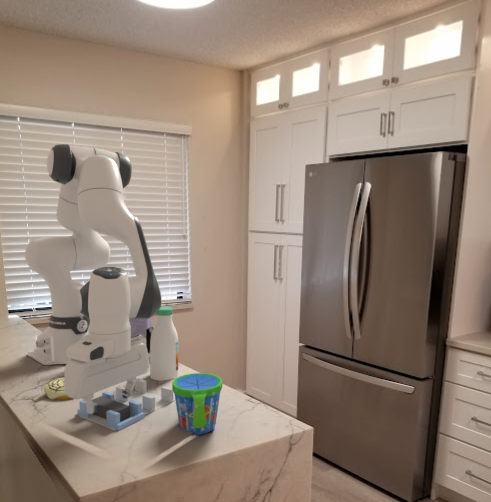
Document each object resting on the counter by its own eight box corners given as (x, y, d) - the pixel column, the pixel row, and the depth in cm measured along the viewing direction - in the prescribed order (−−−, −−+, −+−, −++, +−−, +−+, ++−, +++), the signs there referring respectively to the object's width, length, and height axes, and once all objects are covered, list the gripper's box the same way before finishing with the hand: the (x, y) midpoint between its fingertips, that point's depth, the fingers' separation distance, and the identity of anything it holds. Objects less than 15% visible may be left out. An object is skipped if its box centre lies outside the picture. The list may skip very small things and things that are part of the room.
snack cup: (176, 412, 97) (176, 368, 97) (222, 411, 98) (222, 368, 97) (167, 447, 82) (167, 396, 81) (222, 446, 82) (222, 395, 82)
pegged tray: (75, 419, 93) (75, 401, 93) (137, 392, 108) (137, 377, 108) (116, 436, 86) (116, 416, 86) (177, 405, 101) (177, 388, 101)
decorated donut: (46, 408, 99) (46, 392, 99) (43, 392, 108) (42, 378, 108) (93, 399, 104) (92, 384, 104) (85, 385, 114) (85, 371, 113)
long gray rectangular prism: (88, 412, 94) (88, 401, 94) (101, 407, 97) (101, 396, 97) (117, 423, 89) (117, 411, 89) (129, 417, 92) (129, 405, 92)
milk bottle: (172, 385, 114) (172, 311, 113) (145, 382, 115) (145, 310, 114) (182, 375, 121) (182, 306, 120) (157, 373, 123) (156, 305, 122)
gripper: (136, 330, 102) (136, 386, 103) (59, 351, 85) (60, 418, 86) (155, 334, 99) (155, 392, 100) (78, 356, 82) (79, 426, 83)
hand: (110, 404), depth 93 cm, fingers open, 8 cm apart
